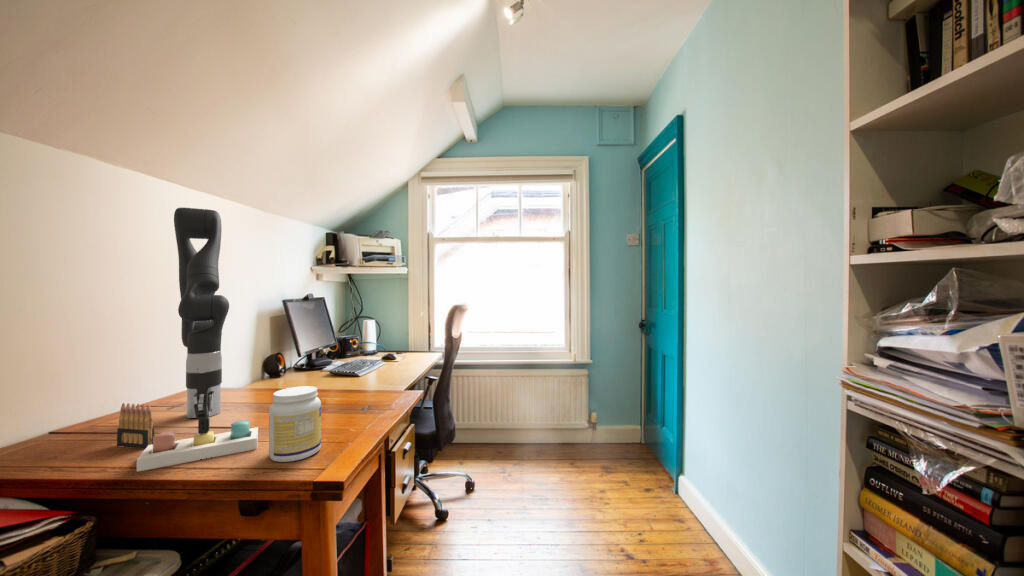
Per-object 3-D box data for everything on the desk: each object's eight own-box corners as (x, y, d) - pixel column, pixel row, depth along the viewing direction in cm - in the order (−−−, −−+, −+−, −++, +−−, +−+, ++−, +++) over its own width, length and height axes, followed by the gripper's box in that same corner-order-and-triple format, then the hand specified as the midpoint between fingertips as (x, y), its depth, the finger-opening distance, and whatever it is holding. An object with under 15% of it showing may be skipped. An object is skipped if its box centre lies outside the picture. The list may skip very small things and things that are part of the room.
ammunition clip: (116, 446, 105) (116, 403, 105) (124, 443, 107) (124, 401, 107) (147, 449, 103) (147, 405, 103) (154, 446, 105) (154, 403, 105)
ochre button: (195, 448, 101) (195, 432, 101) (214, 444, 104) (214, 429, 104) (192, 454, 98) (192, 438, 98) (212, 450, 100) (212, 434, 100)
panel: (148, 456, 98) (148, 445, 98) (258, 437, 111) (258, 427, 111) (136, 471, 90) (136, 459, 90) (256, 449, 103) (256, 438, 103)
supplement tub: (330, 450, 102) (330, 388, 102) (284, 468, 92) (285, 399, 92) (305, 440, 108) (305, 383, 109) (259, 457, 98) (259, 392, 98)
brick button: (155, 449, 97) (155, 433, 97) (176, 446, 99) (176, 430, 99) (150, 455, 93) (150, 439, 94) (173, 452, 96) (173, 435, 96)
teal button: (231, 436, 106) (231, 422, 106) (249, 433, 108) (249, 419, 108) (230, 442, 102) (230, 426, 102) (248, 438, 104) (249, 423, 104)
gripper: (190, 365, 104) (190, 427, 104) (180, 374, 93) (180, 444, 93) (224, 363, 108) (224, 422, 108) (218, 371, 97) (218, 437, 97)
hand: (203, 432), depth 101 cm, fingers closed
